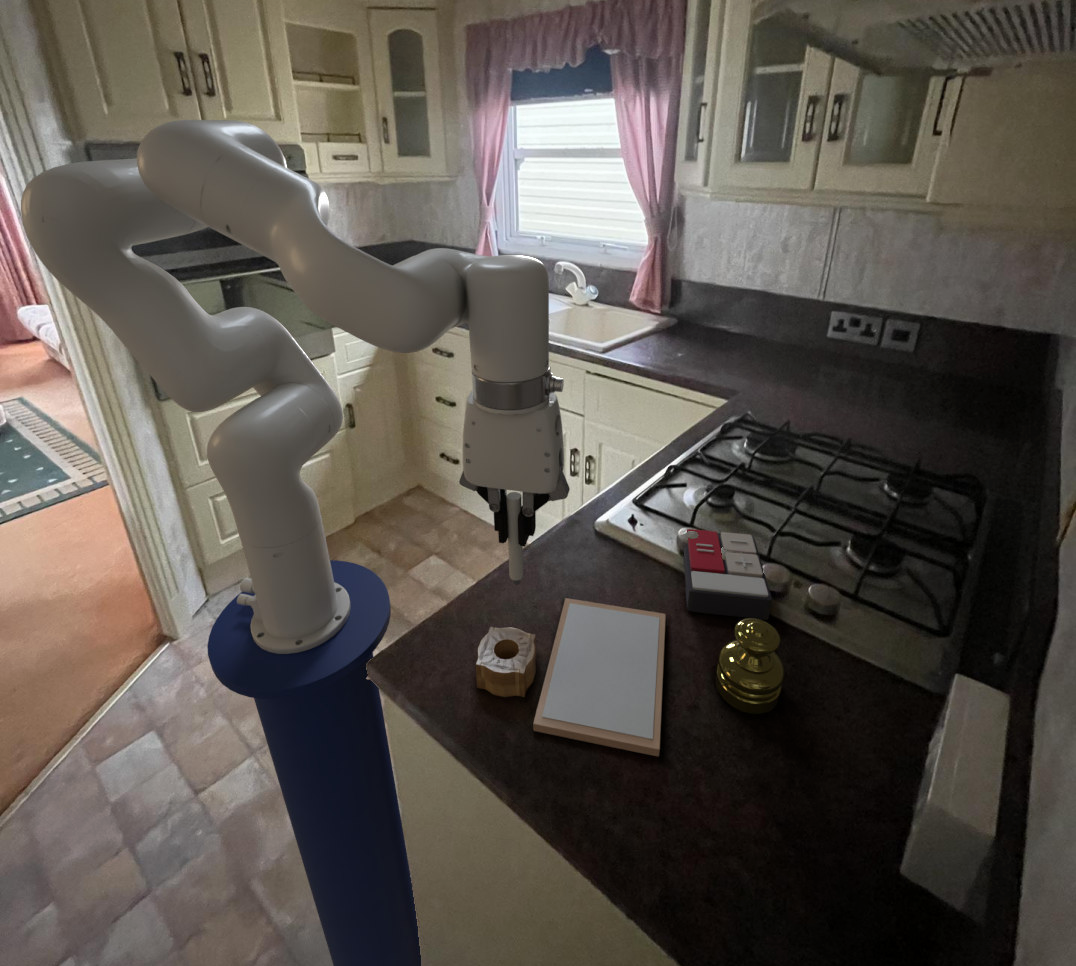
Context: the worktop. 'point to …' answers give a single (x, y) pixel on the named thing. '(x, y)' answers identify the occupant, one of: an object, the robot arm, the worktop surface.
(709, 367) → the worktop surface
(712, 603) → the calculator
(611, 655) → the small whiteboard
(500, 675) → the holder
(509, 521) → the stylus
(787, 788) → the worktop surface
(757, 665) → the brass weight
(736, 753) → the worktop surface
